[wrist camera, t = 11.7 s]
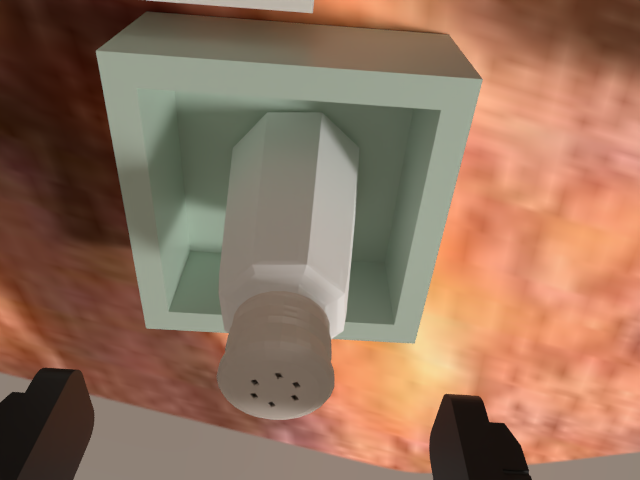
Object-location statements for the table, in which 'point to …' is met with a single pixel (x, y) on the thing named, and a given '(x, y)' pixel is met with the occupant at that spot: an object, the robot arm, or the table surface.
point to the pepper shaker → (286, 262)
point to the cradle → (256, 4)
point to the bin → (242, 115)
